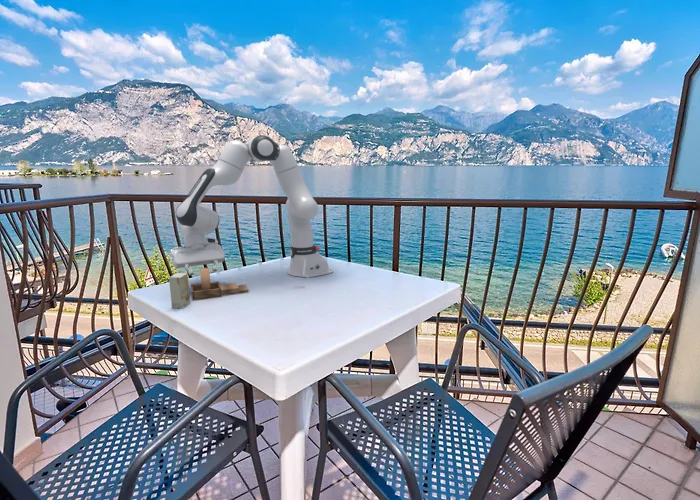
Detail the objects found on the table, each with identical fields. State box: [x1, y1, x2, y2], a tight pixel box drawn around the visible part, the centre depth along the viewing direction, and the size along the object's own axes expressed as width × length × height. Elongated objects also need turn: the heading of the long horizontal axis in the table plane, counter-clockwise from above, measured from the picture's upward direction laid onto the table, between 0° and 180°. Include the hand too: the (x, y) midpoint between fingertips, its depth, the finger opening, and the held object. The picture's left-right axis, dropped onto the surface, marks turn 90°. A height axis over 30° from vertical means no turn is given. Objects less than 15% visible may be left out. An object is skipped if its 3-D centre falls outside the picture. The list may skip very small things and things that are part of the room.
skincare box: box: [168, 272, 191, 309], centre depth 133 cm, size 6×4×12 cm
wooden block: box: [199, 267, 211, 290], centre depth 145 cm, size 4×4×10 cm
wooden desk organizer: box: [190, 281, 250, 301], centre depth 148 cm, size 22×10×4 cm, turn 115°
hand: (203, 272), depth 146 cm, fingers open, 8 cm apart
